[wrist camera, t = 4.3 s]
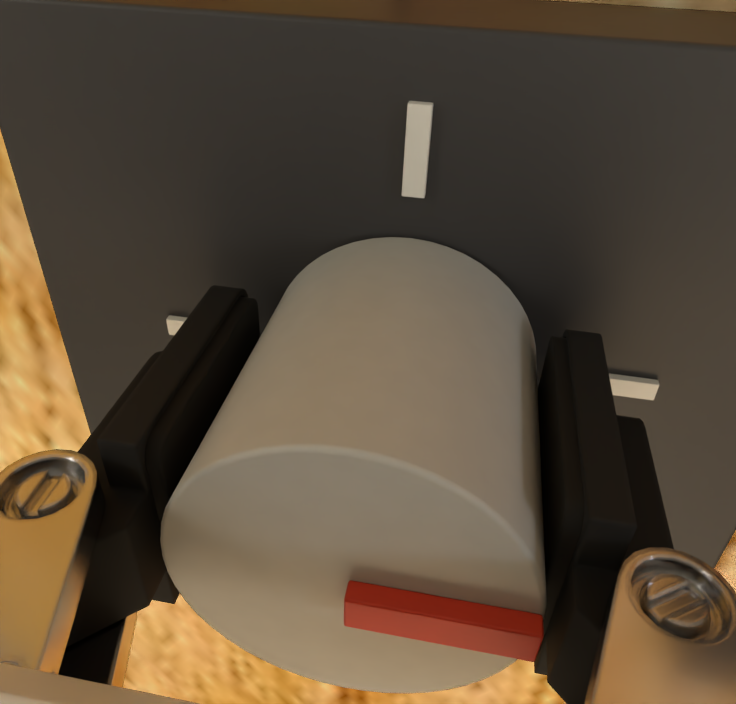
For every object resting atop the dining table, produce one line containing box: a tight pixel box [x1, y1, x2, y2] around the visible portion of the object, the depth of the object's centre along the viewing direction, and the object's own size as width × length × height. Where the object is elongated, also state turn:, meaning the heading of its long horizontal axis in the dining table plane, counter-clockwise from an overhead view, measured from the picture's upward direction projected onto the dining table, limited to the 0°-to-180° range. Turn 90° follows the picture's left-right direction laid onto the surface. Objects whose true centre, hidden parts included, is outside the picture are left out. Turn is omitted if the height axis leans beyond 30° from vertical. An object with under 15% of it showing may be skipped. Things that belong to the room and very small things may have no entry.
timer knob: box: [160, 237, 546, 693], centre depth 10 cm, size 5×5×5 cm
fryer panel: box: [0, 0, 736, 569], centre depth 13 cm, size 14×11×3 cm
